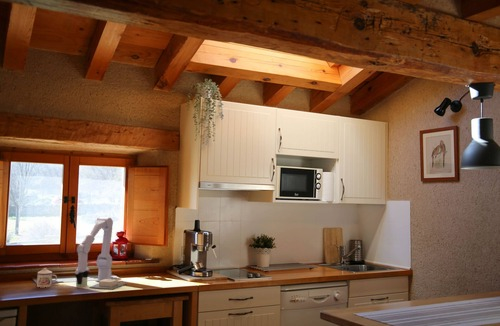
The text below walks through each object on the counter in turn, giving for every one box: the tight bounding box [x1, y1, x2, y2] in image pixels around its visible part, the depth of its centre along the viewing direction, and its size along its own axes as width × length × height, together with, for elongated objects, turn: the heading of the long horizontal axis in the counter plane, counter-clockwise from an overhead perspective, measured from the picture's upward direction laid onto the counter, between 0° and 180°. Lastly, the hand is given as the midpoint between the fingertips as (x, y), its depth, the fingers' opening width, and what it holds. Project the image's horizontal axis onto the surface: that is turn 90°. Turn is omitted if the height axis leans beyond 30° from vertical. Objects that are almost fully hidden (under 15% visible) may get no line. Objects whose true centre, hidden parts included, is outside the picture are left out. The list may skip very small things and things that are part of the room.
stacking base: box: [89, 278, 127, 291], centre depth 326 cm, size 20×16×4 cm
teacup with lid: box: [36, 267, 58, 289], centre depth 320 cm, size 12×9×12 cm
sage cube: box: [75, 277, 88, 287], centre depth 326 cm, size 5×5×5 cm
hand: (81, 283), depth 326 cm, fingers closed on sage cube, 5 cm apart
